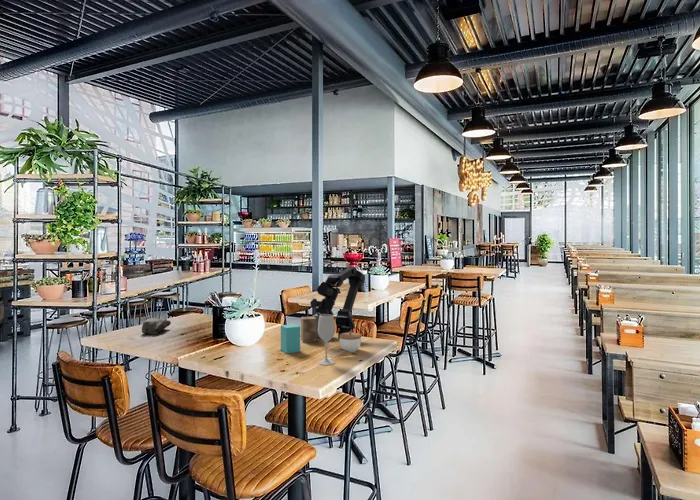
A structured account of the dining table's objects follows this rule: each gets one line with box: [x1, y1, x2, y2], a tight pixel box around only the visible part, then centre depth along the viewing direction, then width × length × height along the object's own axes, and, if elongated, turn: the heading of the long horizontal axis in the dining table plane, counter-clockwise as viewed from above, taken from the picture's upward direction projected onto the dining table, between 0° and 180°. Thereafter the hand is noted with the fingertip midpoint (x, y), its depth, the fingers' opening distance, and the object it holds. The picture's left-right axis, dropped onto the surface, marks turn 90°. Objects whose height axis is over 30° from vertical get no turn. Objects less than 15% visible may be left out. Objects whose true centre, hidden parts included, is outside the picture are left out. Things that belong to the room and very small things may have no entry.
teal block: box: [280, 323, 301, 354], centre depth 208 cm, size 7×7×12 cm
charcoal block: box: [312, 313, 321, 339], centre depth 238 cm, size 7×7×12 cm
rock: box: [141, 316, 172, 335], centre depth 252 cm, size 18×11×8 cm, turn 2°
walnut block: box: [300, 315, 317, 343], centre depth 229 cm, size 7×7×12 cm
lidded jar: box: [339, 331, 362, 353], centre depth 212 cm, size 11×11×9 cm
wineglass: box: [317, 314, 336, 366], centre depth 191 cm, size 8×8×21 cm
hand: (318, 328), depth 218 cm, fingers closed
